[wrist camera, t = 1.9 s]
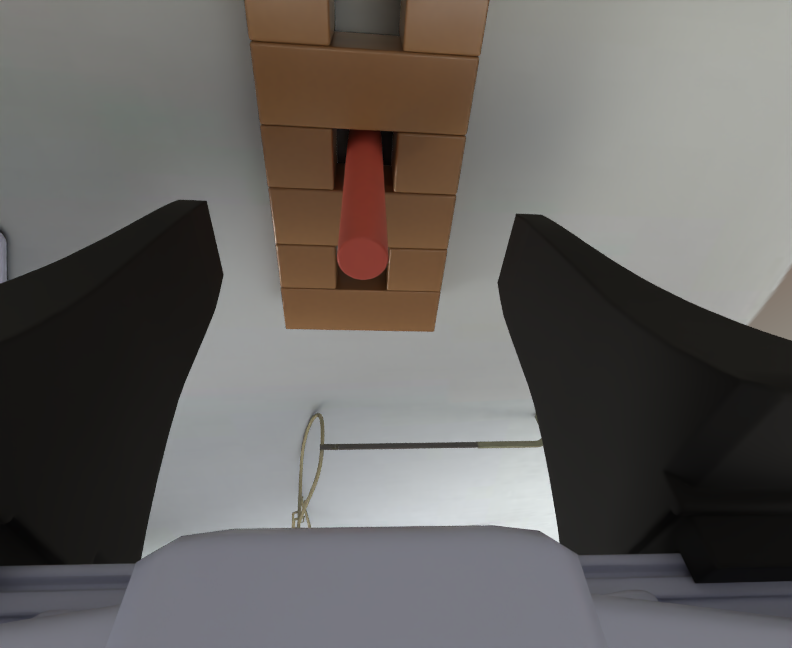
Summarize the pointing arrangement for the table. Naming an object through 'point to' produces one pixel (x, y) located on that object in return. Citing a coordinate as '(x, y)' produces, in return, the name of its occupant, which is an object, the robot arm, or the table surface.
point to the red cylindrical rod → (363, 208)
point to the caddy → (363, 110)
